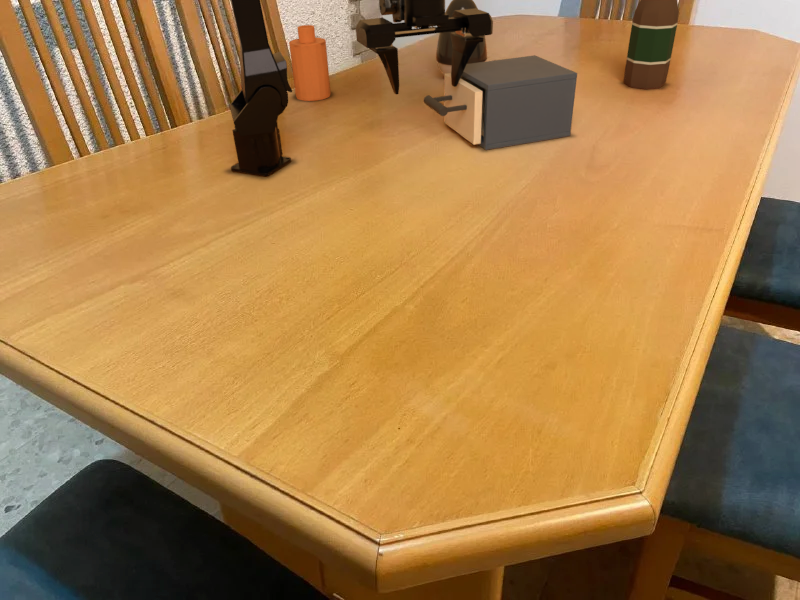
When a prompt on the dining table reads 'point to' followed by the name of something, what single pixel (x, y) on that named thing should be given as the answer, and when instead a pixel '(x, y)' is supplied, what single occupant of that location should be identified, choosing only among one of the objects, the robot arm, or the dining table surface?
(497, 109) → the cabinet
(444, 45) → the dark brown rounded piece
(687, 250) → the dining table surface
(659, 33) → the beer bottle
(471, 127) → the drawer
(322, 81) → the detergent bottle
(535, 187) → the dining table surface
